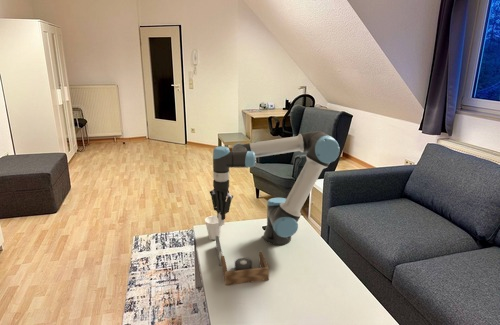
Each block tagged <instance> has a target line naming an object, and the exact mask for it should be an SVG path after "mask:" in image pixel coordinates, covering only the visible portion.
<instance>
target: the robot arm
mask: <svg viewBox="0 0 500 325" xmlns="http://www.w3.org/2000/svg"><path fill="white" fill-rule="evenodd" d="M340 150H341V148H340V145H339V143H338V141H337V140H336V139H335V138H334V137H333V136H330V135H329V134H327V133H326V132H324V131H322V130H321V131H320V130H317V131H310V132H309V131H308V132H303V133H298V135H297V136H290V137H283V138H277V139H271V140H262V141H255V142H251V143H242V142H237V143H235V144H234V145H233V146H232V148H231V151H230V148H229V147H228V146H222V145H221V146H216V147H214V148H213V152H212V155H213V156H212V168H213V169H212V179H213V182H212V186H213V189H212V190H209V194H210V197H211V202H212V208H213V211H215V212H216V214H217V215H216V216H217V218H218V226H221V227H222V226H224V225H225V220H226V214H228V213H230V208H231V203H232V200H233V198H234V195H231V194H230V191H229V188H230V168H231V169H233V168H234V169H235V168H245V169H248V168H253V167H255V165H256V158H260V157H261V158H262V157H269V156H273V155H274V156H276V155H280V154H287V153H288V154H289V153H293V152H300V153H306V155H305V157H306V161H305V163H304V165H303V167H302V169H301V171H300V172H299V174H298V176H297V178H296V181H295V182H294V184H293V186H292V187H291V190H290V191H289V193H288V195H287V197H285V198H284V197H272V198H269V199H268V200H267V202H266V203H267V204H266V226H265V230H264V232H263V239H264V241H265V243H268V244H270V245H275V246H283V245H287V244H288V243H291V241H292V236H294V235H295V234H296V233H297V232H298V229H299V224H298V221H299V220H300V218H301V217H302V213H301V210H302V208H303V207H304V204H305V202H306V200H308V199H307V198H308V197H309V195H310V193H311V192H312V190H313V188H314V186H315V184H316V182H317V181H318V179H319V177H320V175H321V173H322V171H323V170H324V169H326V168H328V167H329V165H330V163H333V162H335V161H336V160H337V159H338V157H339V155H340V153H341V151H340Z"/></svg>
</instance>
